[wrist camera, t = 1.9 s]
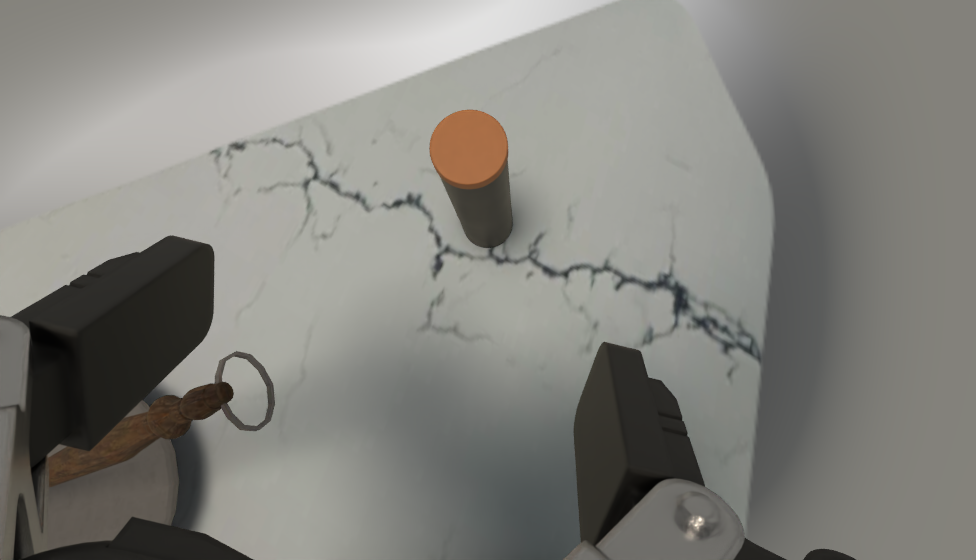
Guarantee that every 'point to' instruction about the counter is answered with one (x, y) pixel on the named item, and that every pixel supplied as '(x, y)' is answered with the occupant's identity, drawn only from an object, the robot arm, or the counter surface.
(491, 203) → the stylus
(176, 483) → the coffee pot
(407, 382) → the counter surface
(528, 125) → the counter surface
